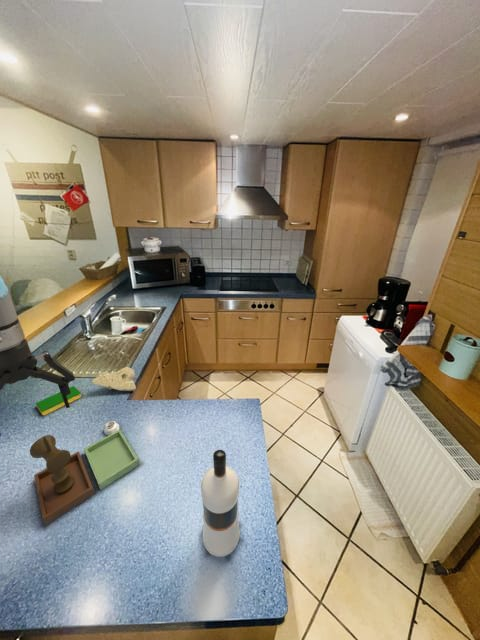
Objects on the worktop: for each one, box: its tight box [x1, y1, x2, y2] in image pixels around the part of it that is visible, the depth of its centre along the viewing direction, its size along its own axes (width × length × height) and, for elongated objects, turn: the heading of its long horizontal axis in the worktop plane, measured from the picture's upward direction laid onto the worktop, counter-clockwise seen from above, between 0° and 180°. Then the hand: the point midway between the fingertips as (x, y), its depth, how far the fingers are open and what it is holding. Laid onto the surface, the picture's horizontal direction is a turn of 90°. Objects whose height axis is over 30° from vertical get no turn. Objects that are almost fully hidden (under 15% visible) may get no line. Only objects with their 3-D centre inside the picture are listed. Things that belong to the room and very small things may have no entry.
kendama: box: [29, 434, 75, 494], centre depth 68 cm, size 6×10×20 cm, turn 59°
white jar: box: [103, 420, 120, 436], centre depth 91 cm, size 5×3×5 cm
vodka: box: [200, 449, 241, 558], centre depth 57 cm, size 9×9×30 cm
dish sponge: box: [35, 385, 82, 416], centre depth 103 cm, size 7×14×2 cm, turn 141°
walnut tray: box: [33, 451, 96, 526], centre depth 72 cm, size 16×12×3 cm
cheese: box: [91, 366, 137, 392], centre depth 111 cm, size 15×7×15 cm
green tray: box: [83, 429, 141, 491], centre depth 81 cm, size 16×12×3 cm
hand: (35, 418), depth 62 cm, fingers open, 13 cm apart
